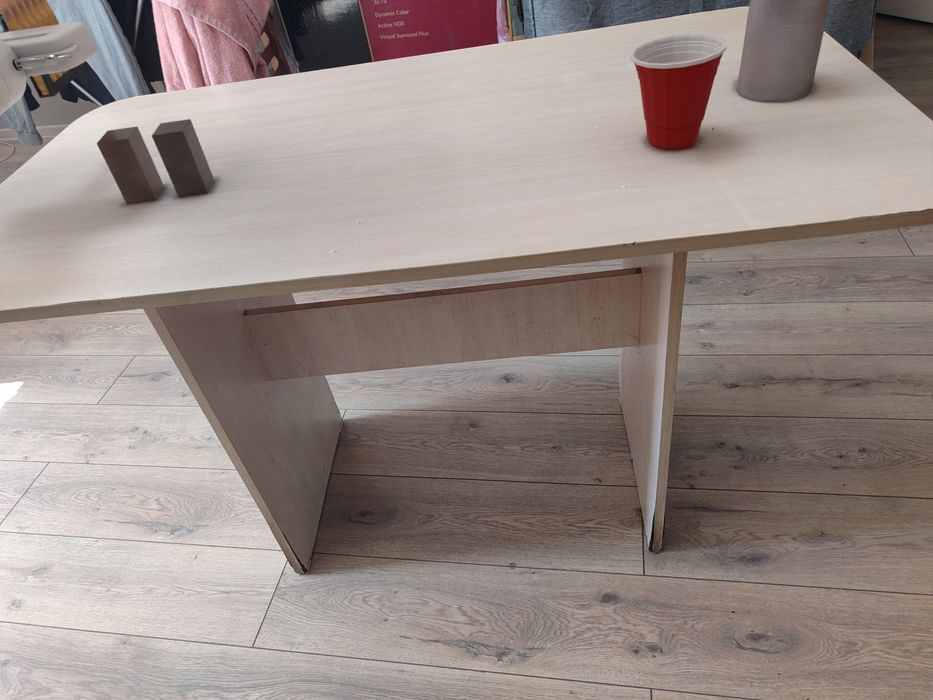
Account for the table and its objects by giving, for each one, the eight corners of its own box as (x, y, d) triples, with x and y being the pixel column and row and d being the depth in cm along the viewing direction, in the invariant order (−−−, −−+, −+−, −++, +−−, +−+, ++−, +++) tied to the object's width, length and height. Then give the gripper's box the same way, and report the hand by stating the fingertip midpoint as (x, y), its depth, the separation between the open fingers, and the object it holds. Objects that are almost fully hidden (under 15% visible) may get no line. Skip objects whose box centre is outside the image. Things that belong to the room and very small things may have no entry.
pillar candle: (775, 72, 99) (796, -44, 90) (827, 91, 92) (856, -32, 82) (721, 88, 97) (736, -28, 87) (770, 109, 90) (793, -15, 80)
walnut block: (128, 207, 90) (96, 143, 84) (137, 193, 93) (107, 130, 87) (157, 203, 90) (127, 138, 84) (165, 189, 93) (137, 126, 87)
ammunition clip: (53, 96, 86) (1, -7, 78) (39, 98, 86) (-15, -4, 79) (84, 69, 94) (39, -26, 87) (71, 71, 94) (25, -24, 87)
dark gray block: (179, 200, 90) (151, 135, 84) (187, 186, 93) (160, 123, 87) (208, 196, 90) (182, 131, 84) (215, 182, 93) (190, 118, 87)
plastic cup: (640, 122, 92) (645, 28, 84) (723, 129, 87) (737, 31, 79) (614, 157, 85) (617, 58, 77) (703, 167, 80) (715, 63, 72)
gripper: (53, 27, 72) (99, -4, 82) (-134, 55, 72) (-64, 20, 83) (82, 87, 76) (122, 50, 86) (-95, 113, 76) (-34, 73, 87)
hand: (29, 35), depth 84 cm, fingers closed on ammunition clip, 2 cm apart
